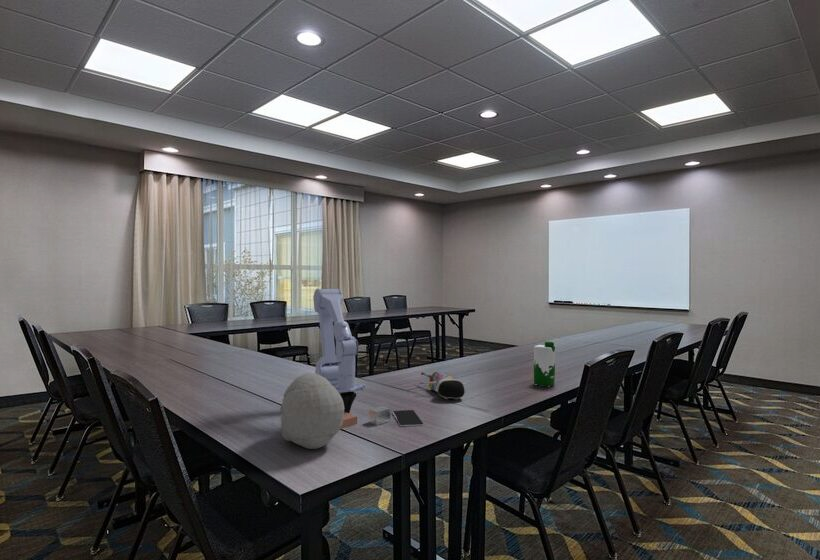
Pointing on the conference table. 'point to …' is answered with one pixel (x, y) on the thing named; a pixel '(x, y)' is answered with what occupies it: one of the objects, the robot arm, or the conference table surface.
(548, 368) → the milk carton
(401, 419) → the smartphone
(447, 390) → the toy
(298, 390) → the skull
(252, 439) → the conference table surface
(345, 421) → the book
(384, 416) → the grey rectangular block
